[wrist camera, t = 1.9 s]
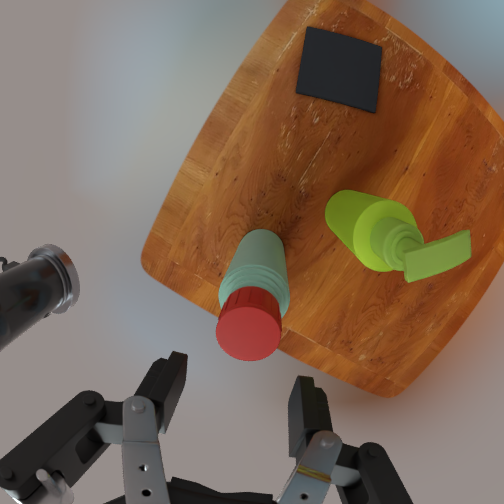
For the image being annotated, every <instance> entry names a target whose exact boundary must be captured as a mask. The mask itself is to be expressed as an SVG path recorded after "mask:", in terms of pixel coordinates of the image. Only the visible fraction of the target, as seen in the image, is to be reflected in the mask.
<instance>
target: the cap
mask: <svg viewBox="0 0 504 504" xmlns="http://www.w3.org/2000/svg"><path fill="white" fill-rule="evenodd" d="M218 320H219V321H218V324H217V327H216V337H217V341H218V343H219V345H220V346H221V348H222V349H223V350H224V351H225V352H226V353H227V354H229V355H230V356H232V357H234V358H236V359H239V360H243V361H256V360H261V359H263V358H266V357H268V356H269V355H270V354H272V353H273V352H274V351H275V350H276V348H277V347H278V345H279V343H280V339H281V332H282V325H281V313H280V307H279V303H278V301H277V300H276V298H275V297H274V296H273V294H271V293H270V292H269V291H267V290H265V289H263V288H260V287H255V286H246V287H242V288H239V289H237V290H235V291H234V292H232V293H231V294H230V295H229V297H228V298H227V300H226V302H224V305H223V307H222V310H221V313H220V315H219V318H218Z"/></svg>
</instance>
